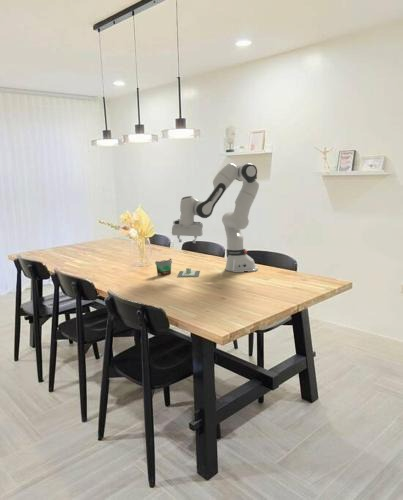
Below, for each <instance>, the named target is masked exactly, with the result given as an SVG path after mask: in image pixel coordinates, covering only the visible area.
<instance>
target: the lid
mask: <svg viewBox="0 0 403 500" xmlns="http://www.w3.org/2000/svg"><path fill="white" fill-rule="evenodd" d="M182 271H183V274H182V277H181V278H193V277H192V276H194V275H195V272H196V271H197V270H192V268H191V267H187V268H185V270H182Z"/></svg>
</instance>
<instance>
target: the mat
mask: <svg viewBox="0 0 403 500" xmlns="http://www.w3.org/2000/svg"><path fill="white" fill-rule="evenodd" d="M183 271H184V270H179V272H178V274H177V276H176V278H180V279H182V278H183V277H182V274H183ZM200 274H201V270H196V272H195V275H194V276H192V277H191V278H199V277H200Z"/></svg>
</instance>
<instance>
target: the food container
mask: <svg viewBox="0 0 403 500" xmlns="http://www.w3.org/2000/svg"><path fill="white" fill-rule="evenodd" d="M172 264H173V259H172V258H169V259H168V260H166V259H165V260H161V261H157V260H156V261H155V266H156V267H155V268H156V274H157V276H159V277H160V276H163V277H164V276H165V277H166V276H169V275H171V274H172Z"/></svg>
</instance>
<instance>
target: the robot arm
mask: <svg viewBox="0 0 403 500" xmlns="http://www.w3.org/2000/svg"><path fill="white" fill-rule="evenodd" d="M257 178H258V169H257V166H256V165H255V164H253V163H250V162H249V163H244V164H243V163H242V164H240V165H236V164H234V163H230V162H229V163H227V164H226V165H225V166H223V167H222V168H221V169H220V171H218V173H217V174H216V175H215V176H214V179H213V181H212V185H213V190H212V192H211V193H210V194H209V196H208V197H207V198H206V199H205V200H204V201H200V200H198V199H196V198H195V197H194V196H192V195H188V196H184V197H181V199H180V206H179V207H180V208H179V210H180V218H178V219H176V220H173V222H172V223H173V224H172V227H171V234H172V236H176V238H177V240H178V243H183V241H182V238H181V237H183V236H184V237H185V236H186V237H194V239H192V244H196V241H197V239H198V237H202V236H203V228H204V227H203V223H202V222H200V221H195V216H196V217H197V216H198V217H199V218H202V219H207V218H209V217H210V216H212V214H213V212H214V208H215V206H216V204H217V203H218V202H219V200H220V199H221V197H222V196H223V195H224V193H225V192H226V190H227V189H228V188H229V187H230V186H231V184H232V183H233V182H234V181H235V180H237V181H239V182H242V186H241V189H240V191H239V192H238V194H237V197H236V199H235V201H234V203H235V204H234V205H235V206H234V209H233V211H228V212H225V213H224V214H223V215H222V218H221V222H222V224H223V226H224V231H225V235H226V264H225V268H224V269H226V271H228V272H232V273H243V272H244V271H248V272H256V270H257V271H258V270H259V267H258V266H257V265H256V263H255V260H254V258H252V257H251V256H250V255H248V254H247V253H248V251H247V249H246V248H244V236H243V233H242V231H241V230H245V229H246V228H247V227H248V226H249V223H250V221H249V213H250V210H251V207H252V205H253V203H254V201H255V199H256V196H257V194H258V191H259V188H260V184H259V182H258V180H257Z"/></svg>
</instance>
